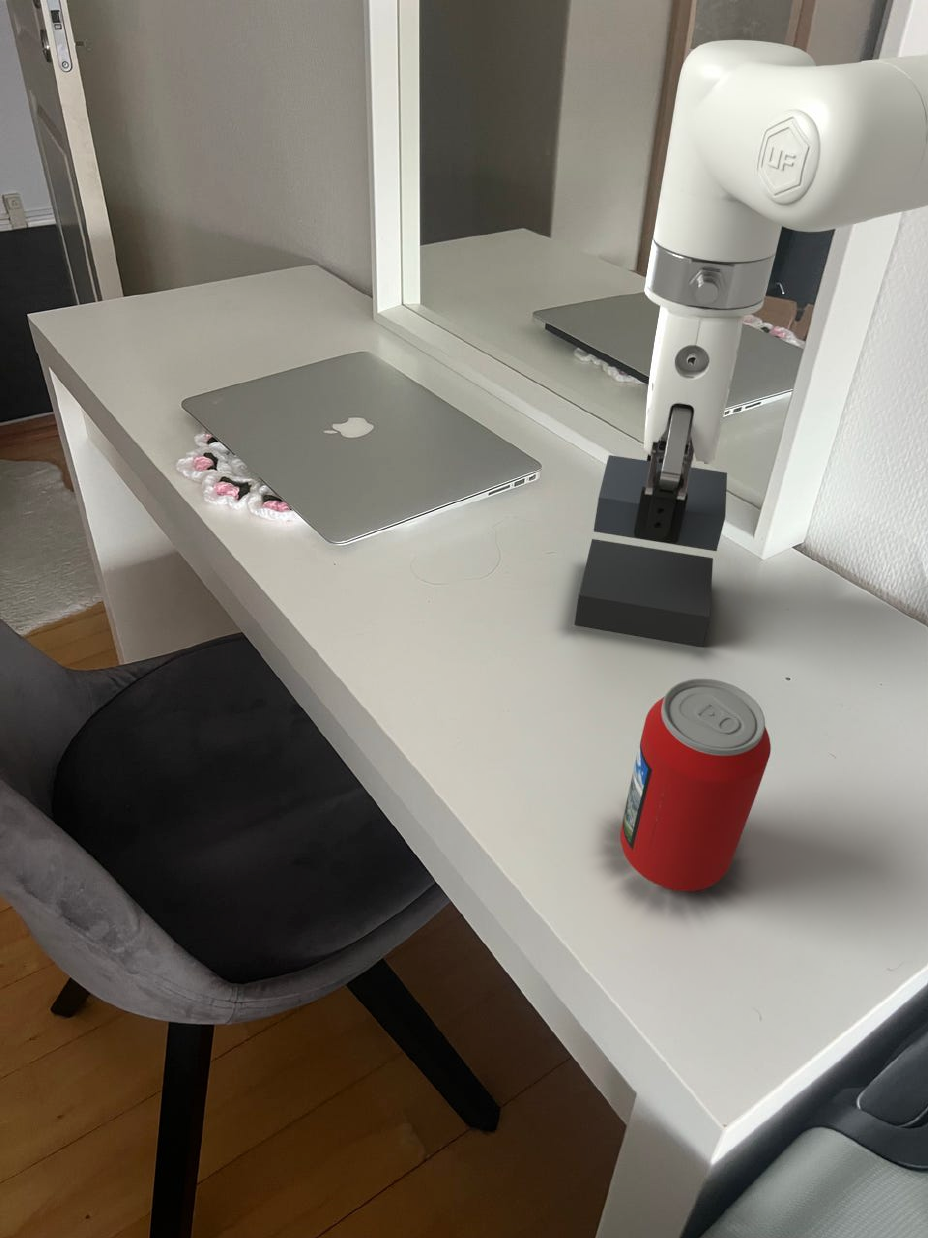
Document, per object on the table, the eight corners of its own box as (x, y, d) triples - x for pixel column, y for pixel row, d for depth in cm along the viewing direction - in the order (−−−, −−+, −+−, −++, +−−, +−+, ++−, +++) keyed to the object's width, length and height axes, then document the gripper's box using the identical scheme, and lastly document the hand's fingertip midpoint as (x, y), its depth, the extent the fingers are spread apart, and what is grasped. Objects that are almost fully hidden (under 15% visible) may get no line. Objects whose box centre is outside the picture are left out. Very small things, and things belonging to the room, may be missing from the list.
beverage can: (660, 790, 59) (696, 652, 52) (750, 853, 56) (803, 715, 48) (595, 849, 56) (623, 710, 48) (687, 921, 52) (733, 782, 44)
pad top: (718, 505, 71) (727, 472, 69) (716, 551, 66) (725, 516, 64) (603, 488, 72) (608, 454, 71) (593, 531, 68) (598, 497, 66)
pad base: (705, 587, 77) (713, 557, 75) (702, 647, 71) (710, 617, 69) (587, 567, 78) (592, 538, 76) (574, 624, 72) (578, 594, 70)
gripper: (771, 332, 50) (704, 589, 62) (766, 238, 63) (712, 464, 75) (635, 315, 52) (595, 570, 63) (658, 227, 65) (621, 451, 76)
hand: (659, 511), depth 69 cm, fingers closed on pad top, 6 cm apart
